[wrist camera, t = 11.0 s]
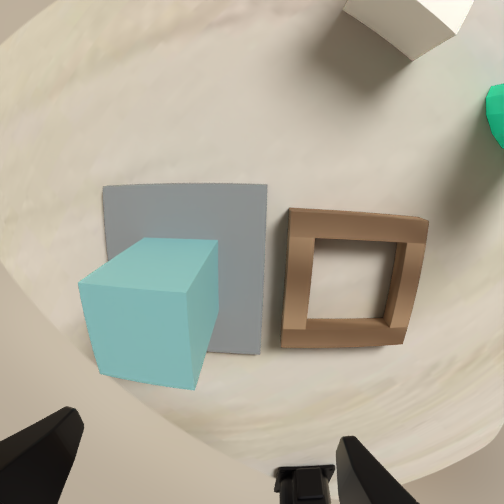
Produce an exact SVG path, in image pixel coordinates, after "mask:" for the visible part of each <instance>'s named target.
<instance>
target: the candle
mask: <svg viewBox="0 0 504 504" xmlns="http://www.w3.org/2000/svg"><path fill="white" fill-rule="evenodd" d="M486 116H487V119H488V122H489V125H490V129H491V132H492V134H493V136H494V137H495V139H496V140H497V141H498V143H499V144H500V146H501V147H502V148H503V149H504V84H500V85H495V86H491V88H490V90H489V92H488V94H487V96H486Z"/></svg>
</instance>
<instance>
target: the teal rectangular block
mask: <svg viewBox="0 0 504 504" xmlns="http://www.w3.org/2000/svg"><path fill="white" fill-rule="evenodd" d="M78 286H79V292H80V297H81V302H82V307H83V311H84V316H85V320H86V324H87V329H88V333H89V337H90V340H91V344H92V348H93V351H94V355H95V358H96V362H97V365H98V368H99V371H100V374H103V375H107V376H112V377H116V378H121V379H126V380H131V381H136V382H142V383H147V384H153V385H159V386H166V387H173V388H180V389H188V390H195V388H196V384H197V381H198V378H199V374H200V371H201V368H202V364H203V361H204V358H205V355H206V351H207V348H208V345H209V341H210V338H211V335H212V332H213V328H214V325H215V322H216V319H217V315H218V312H219V298H218V240H202V239H173V238H143V239H141V240H140V241H138V242H137V243H135V244H134V245H132V246H131V247H129V248H127V249H126V250H124V251H123V252H121V253H120V254H118V255H117V256H116V257H114V258H113V259H111V260H110V261H108V262H107V263H105V264H104V265H102V266H101V267H99V268H98V269H97V270H95V271H94V272H92V273H91V274H89V275H88V276H87V277H85V278H84V279H82V280H81V281H80V282H78Z"/></svg>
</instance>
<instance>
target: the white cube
mask: <svg viewBox="0 0 504 504" xmlns="http://www.w3.org/2000/svg"><path fill="white" fill-rule="evenodd" d="M473 2H474V0H348V1H347V3H346V4H345V6H344V8H343V11H345V12H346V13H348V14H349V15H351V16H352V17H354V18H356V19H357V20H359V21H360V22H362V23H363V24H365V25H366V26H367V27H369V28H370V29H372V30H373V31H375V32H376V33H377V34H379V35H380V36H381V37H383V38H384V39H386V40H387V41H388V42H389V43H391V44H392V45H393V46H395V47H396V48H397V49H398V50H400V51H401V52H402V53H403V54H405V55H406V56H407V57H408V58H409V59H410V60H412V61H414V60H415V59H417V58H418V57H420V56H422V55H423V54H425V53H426V52H428V51H430V50H431V49H433V48H435V47H436V46H438V45H440V44H441V43H443V42H445V41H446V40H448V39H450V38H452V37H453V36H455V35H457V33H458V31H459V29H460V27H461V25H462V23H463V21H464V19H465V17H466V15H467V14H468V12H469V10H470V8H471V6H472V4H473Z"/></svg>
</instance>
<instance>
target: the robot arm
mask: <svg viewBox="0 0 504 504" xmlns="http://www.w3.org/2000/svg"><path fill="white" fill-rule="evenodd" d="M83 430H84V423H83V421H82V419H81V417H80V415H79V413H78V411H77V410H76V409H75V408H72V407H68V406H66V407H64V408H62V409H60V410H58V411H57V412H55V413H53V414H51V415H49V416H47V417H46V418H44V419H42V420H40V421H38V422H36V423H35V424H33V425H31V426H29V427H27V428H25V429H23V430H21V431H19V432H17V433H16V434H14V435H12V436H10V437H8V438H6V439H4V440H2V441H0V504H58V501H59V498H60V495H61V493H62V490H63V488H64V485H65V483H66V480H67V478H68V475H69V473H70V470H71V467H72V465H73V462H74V460H75V457H76V453H77V450H78V447H79V443H80V440H81V437H82V433H83ZM336 465H337V481H338V495H339V501H340V504H419V503H418V502H416V500H415V499H414V498H413V497H412V496H411V495H410V494H409V493H408V492H407V491H406V490H405V489H404V488H403V487H402V486H401V485H400V484H399V483H398V482H397V480H396V479H395V478H394V477H393V476H392V475H391V474H390V473H389V472H388V471H387V470H386V469H385V468H384V467H383V466H382V465H381V464H380V463H379V462H378V461H377V460H376V458H375V457H374V456H373V455H372V454H371V453H370V452H369V451H368V450H367V449H366V448H365V447H364V446H363V445H362V443H361V442H360V441H359V440H358V439H357V438H356V437H355V436H344V437H342V438H341V439H340V442H339V445H338V448H337V450H336ZM334 471H335V465H325V466H309V467H281V468H279V469H278V473H277V478H276V483H275V488H274V492H276V493H278V492H279V493H280V504H331V499H330V491H329V485H328V483H329V481H330V479H331V477H332V475H333V473H334Z"/></svg>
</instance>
